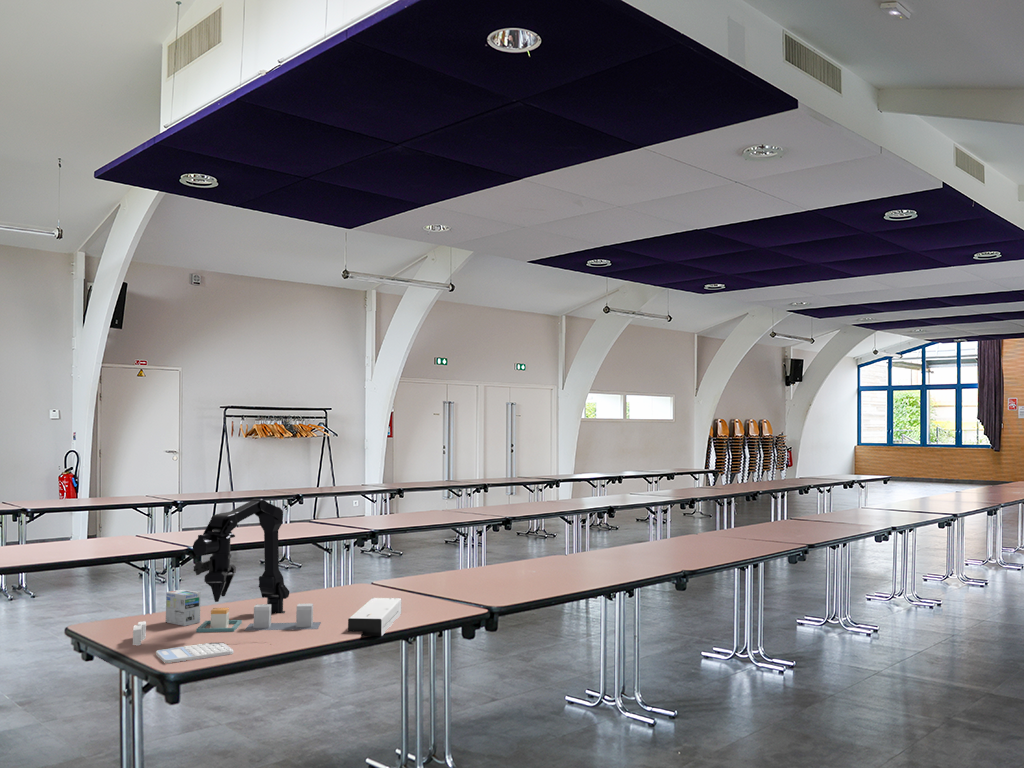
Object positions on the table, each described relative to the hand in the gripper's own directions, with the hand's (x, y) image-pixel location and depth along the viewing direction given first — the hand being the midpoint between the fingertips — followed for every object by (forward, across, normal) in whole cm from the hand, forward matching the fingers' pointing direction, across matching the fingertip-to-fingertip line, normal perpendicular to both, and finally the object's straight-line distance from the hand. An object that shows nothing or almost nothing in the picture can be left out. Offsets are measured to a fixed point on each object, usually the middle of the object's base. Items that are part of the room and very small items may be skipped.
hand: (219, 599), depth 279 cm
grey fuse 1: (+9, 0, +14) cm, 17 cm away
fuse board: (+11, 0, +21) cm, 24 cm away
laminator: (+12, -7, +51) cm, 53 cm away
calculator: (+12, +27, -1) cm, 29 cm away
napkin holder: (+12, +9, -22) cm, 27 cm away
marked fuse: (+10, 0, 0) cm, 10 cm away
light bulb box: (+11, -15, -16) cm, 25 cm away
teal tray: (+11, 0, 0) cm, 11 cm away
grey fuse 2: (+9, 0, +28) cm, 30 cm away
